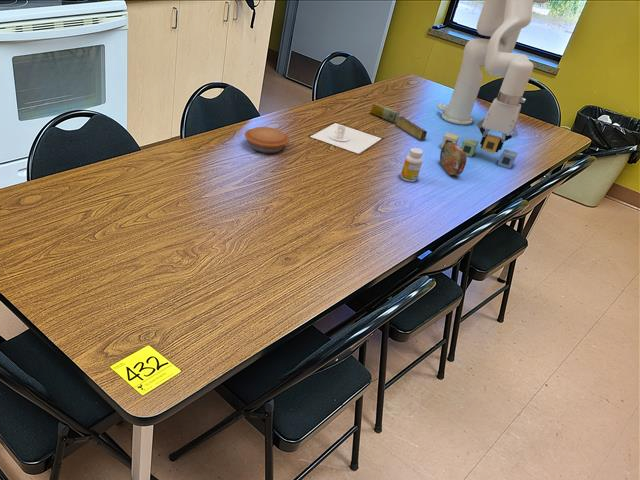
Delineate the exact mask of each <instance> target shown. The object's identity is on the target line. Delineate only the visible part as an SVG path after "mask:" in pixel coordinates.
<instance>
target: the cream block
mask: <svg viewBox="0 0 640 480" xmlns="http://www.w3.org/2000/svg"><path fill="white" fill-rule="evenodd" d="M459 140H460V135H458V134H454V133H451V132H446V133H445V134H444V136H443V139H442V142H441V144H440V149H442V148H443V146H444V145H445V143H447V142H451V143H456V144H457V145H458V143H459Z"/></svg>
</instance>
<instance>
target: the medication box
mask: <svg viewBox="0 0 640 480" xmlns="http://www.w3.org/2000/svg"><path fill="white" fill-rule="evenodd" d="M370 114H373V115H375V116H377V117H380V118H381V119H384V120H385V121H388V122H391V123H392V124H397V120H398V117H400V114H401V112H399V111H398V110H394V109H392V108H389V107H387V106H384V105H383V104H380V103H377V102H374V103H373V104H372V107H371V109H370Z"/></svg>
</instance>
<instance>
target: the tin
mask: <svg viewBox="0 0 640 480" xmlns="http://www.w3.org/2000/svg"><path fill="white" fill-rule="evenodd" d="M467 157H468V156H466V154H465V152H464V151H463V150H462V149H461V146H459V145H458V143H457V144H456V143H451V142H447V143H445V145H444V146H443V148H441V150H440V154H439V163H440V165H441V167H442V168H443V169H444V171H446V173H447V174H448V175H449V176H460V175H461V174H462V173H463V172H464V170H465V168H466V164H467Z"/></svg>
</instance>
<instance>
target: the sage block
mask: <svg viewBox="0 0 640 480" xmlns="http://www.w3.org/2000/svg"><path fill="white" fill-rule="evenodd" d="M479 143H480V142H479V140H475V139H472V138H468V137H465V139H463V141H462V143H461V146H460V148H461V149H462V150H463V151H464V152H465V154H466V157H470V158H472V157H473V156H474V155H475V153H476V150H477V147H478V144H479Z"/></svg>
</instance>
